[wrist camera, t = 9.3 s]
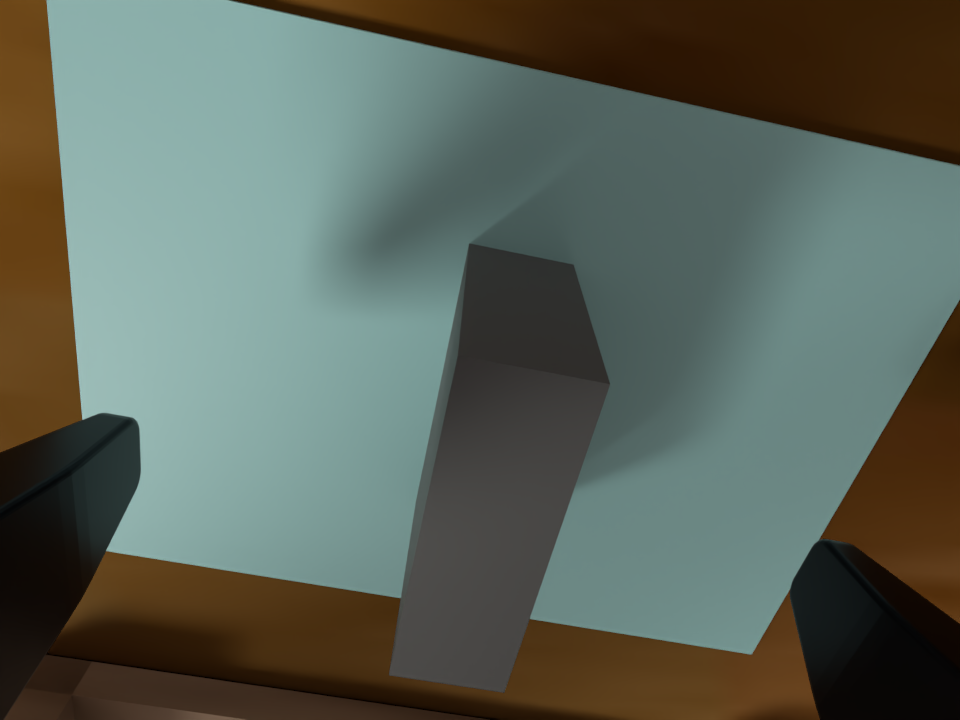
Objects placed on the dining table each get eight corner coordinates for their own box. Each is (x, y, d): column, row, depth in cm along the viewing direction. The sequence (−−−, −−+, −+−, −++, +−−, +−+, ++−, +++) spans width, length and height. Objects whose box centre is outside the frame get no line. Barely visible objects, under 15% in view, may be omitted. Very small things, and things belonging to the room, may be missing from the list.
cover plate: (739, 623, 15) (827, 844, 11) (114, 520, 14) (-36, 725, 10) (992, 170, 10) (1300, 272, 6) (78, -38, 9) (-233, -70, 5)
